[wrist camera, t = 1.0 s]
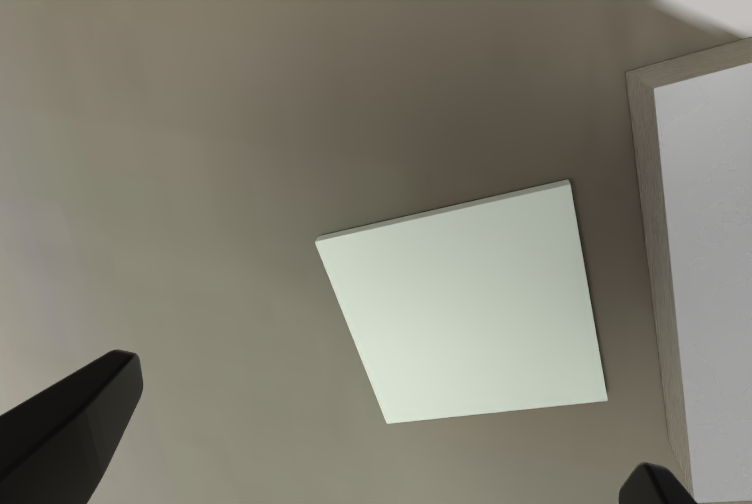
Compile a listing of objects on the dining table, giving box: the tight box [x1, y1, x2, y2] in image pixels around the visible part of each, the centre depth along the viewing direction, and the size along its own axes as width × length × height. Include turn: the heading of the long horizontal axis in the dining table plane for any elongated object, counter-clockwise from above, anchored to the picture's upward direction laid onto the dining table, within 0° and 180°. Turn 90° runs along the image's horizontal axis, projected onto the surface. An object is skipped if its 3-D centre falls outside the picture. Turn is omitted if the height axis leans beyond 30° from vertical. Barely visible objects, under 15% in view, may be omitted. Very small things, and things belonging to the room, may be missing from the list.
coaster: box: [315, 179, 608, 424], centre depth 24 cm, size 11×11×1 cm
